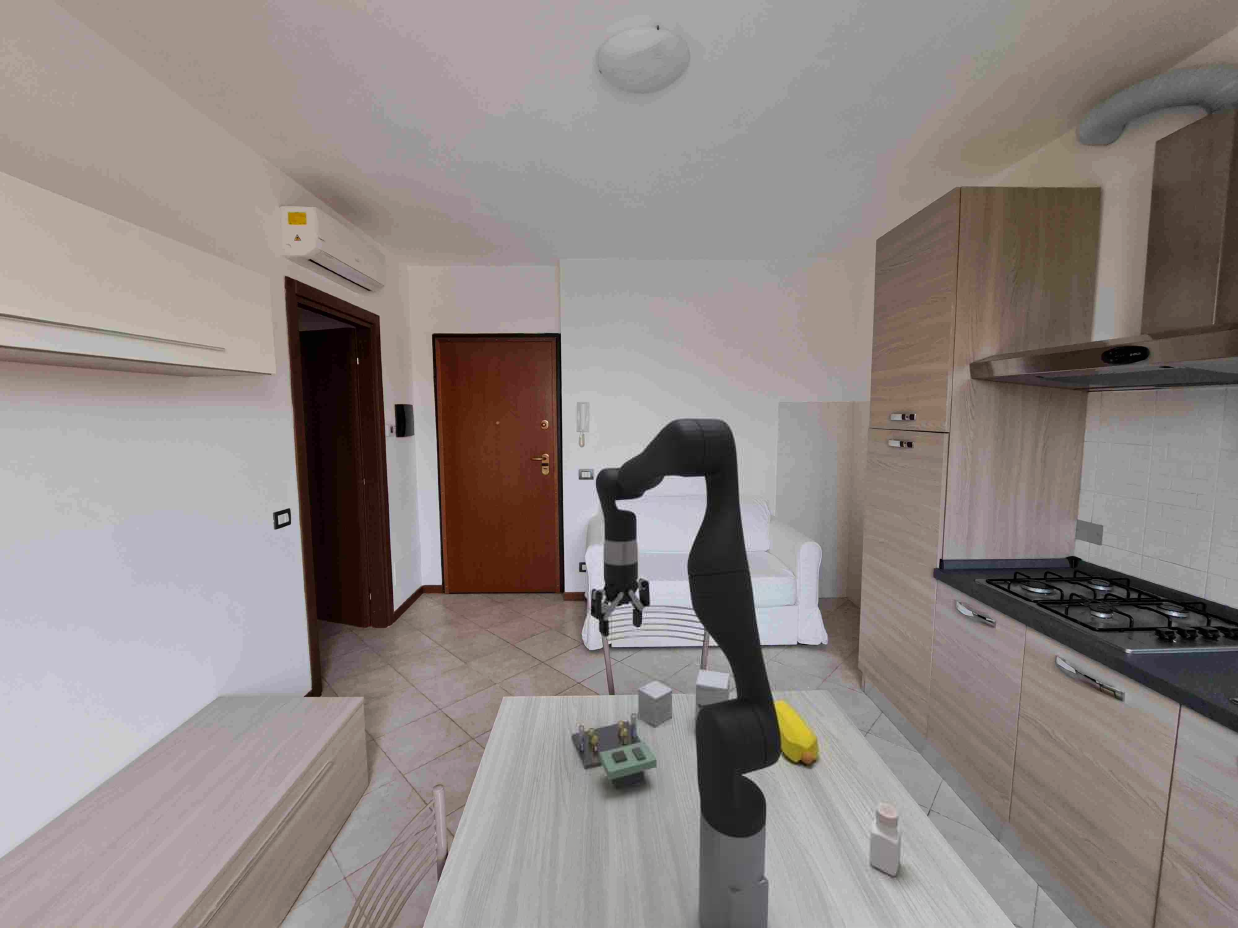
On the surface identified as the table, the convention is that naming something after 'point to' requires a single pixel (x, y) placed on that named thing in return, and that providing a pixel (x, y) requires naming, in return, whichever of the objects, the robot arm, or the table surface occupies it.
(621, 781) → the block
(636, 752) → the board
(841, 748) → the table surface
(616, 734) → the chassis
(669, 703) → the product box
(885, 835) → the salt shaker
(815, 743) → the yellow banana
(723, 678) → the supplement box
